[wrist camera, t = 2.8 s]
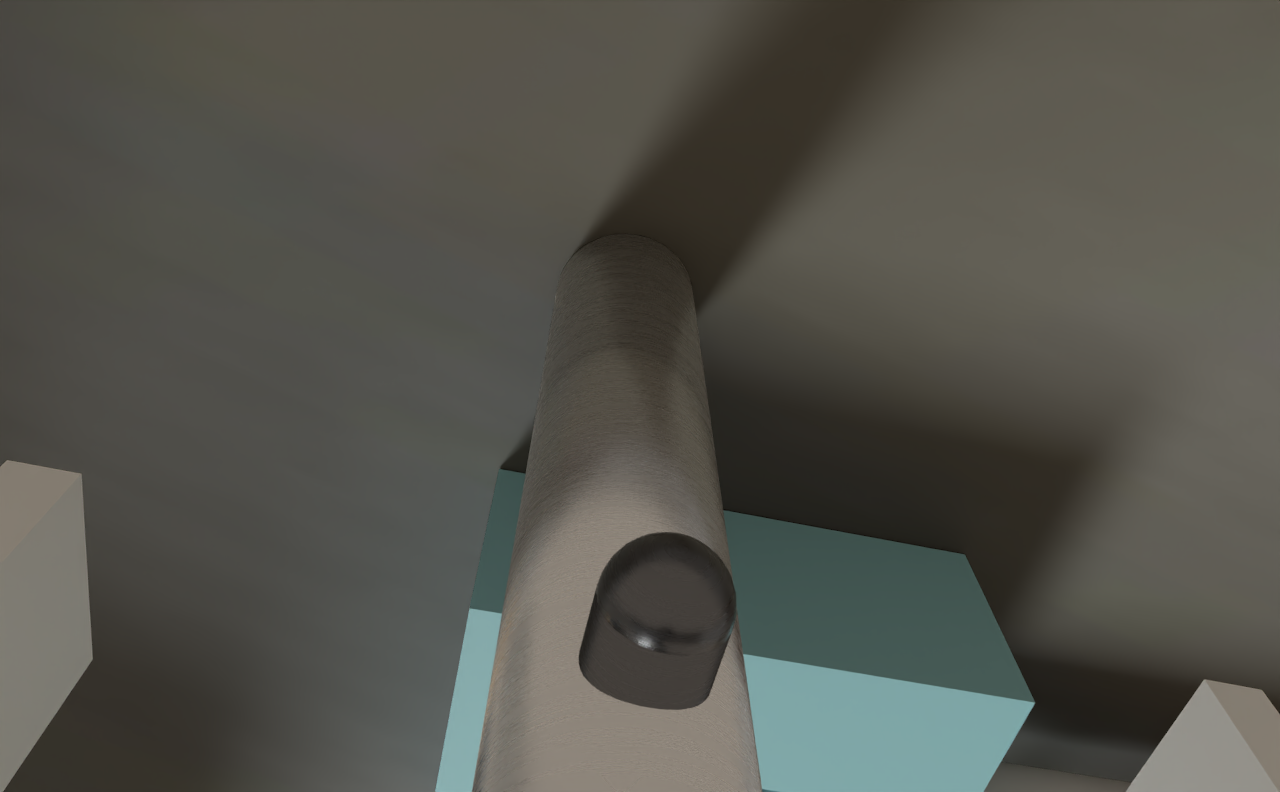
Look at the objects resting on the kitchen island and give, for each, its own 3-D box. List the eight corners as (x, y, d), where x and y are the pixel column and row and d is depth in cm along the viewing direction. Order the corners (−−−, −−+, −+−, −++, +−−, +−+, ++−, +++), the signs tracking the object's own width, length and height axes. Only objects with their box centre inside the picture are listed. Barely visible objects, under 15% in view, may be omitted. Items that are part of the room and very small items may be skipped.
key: (660, 422, 23) (693, 1062, 11) (534, 398, 23) (422, 1029, 11) (725, 187, 20) (866, 690, 8) (583, 156, 20) (508, 631, 8)
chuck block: (436, 798, 29) (402, 963, 25) (499, 468, 24) (469, 608, 19) (1114, 895, 32) (1190, 1060, 28) (1315, 619, 26) (1452, 772, 22)
